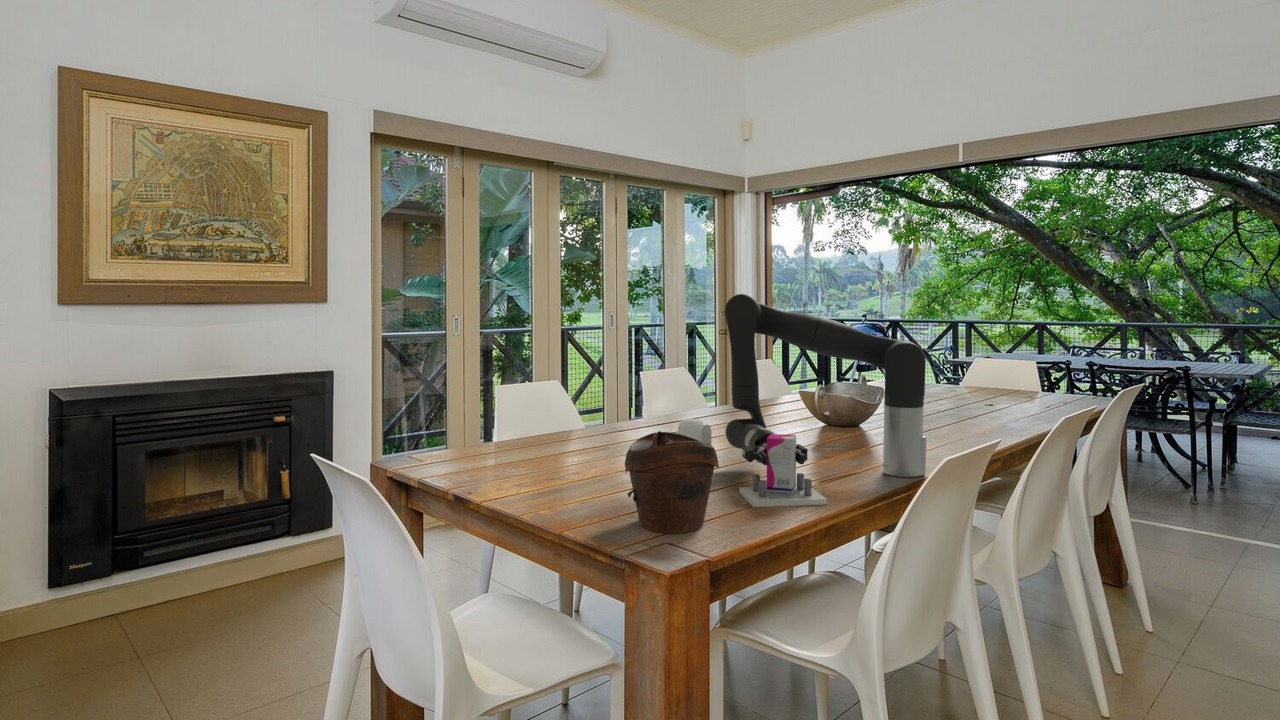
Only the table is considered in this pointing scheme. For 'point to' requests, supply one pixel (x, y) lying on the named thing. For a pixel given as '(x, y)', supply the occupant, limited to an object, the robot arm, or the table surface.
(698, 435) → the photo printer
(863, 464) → the table surface
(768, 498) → the grey peg board
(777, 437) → the supplement box
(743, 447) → the robot arm
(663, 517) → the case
